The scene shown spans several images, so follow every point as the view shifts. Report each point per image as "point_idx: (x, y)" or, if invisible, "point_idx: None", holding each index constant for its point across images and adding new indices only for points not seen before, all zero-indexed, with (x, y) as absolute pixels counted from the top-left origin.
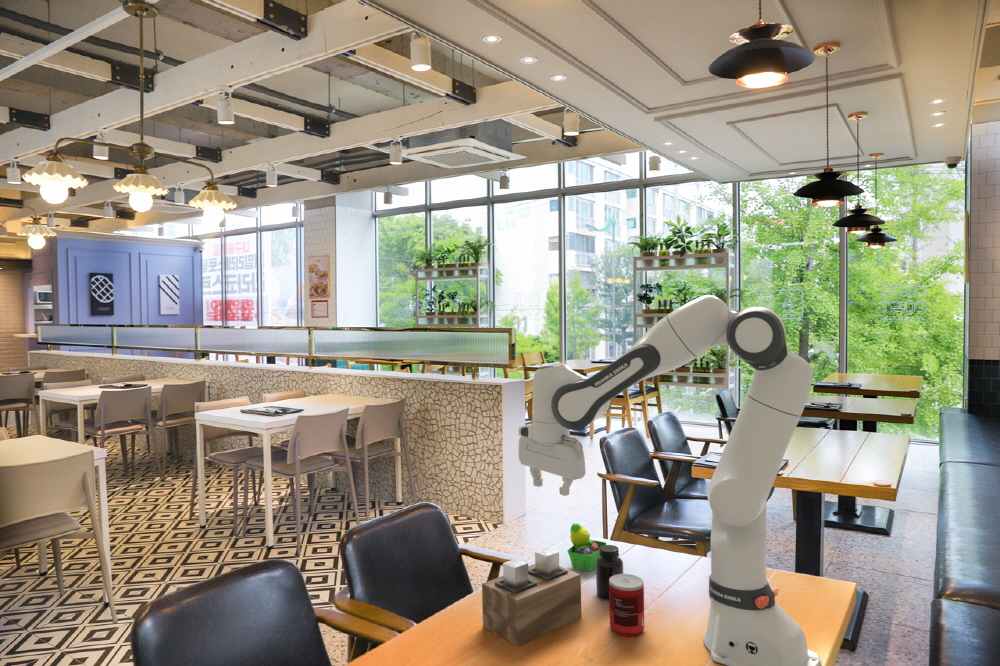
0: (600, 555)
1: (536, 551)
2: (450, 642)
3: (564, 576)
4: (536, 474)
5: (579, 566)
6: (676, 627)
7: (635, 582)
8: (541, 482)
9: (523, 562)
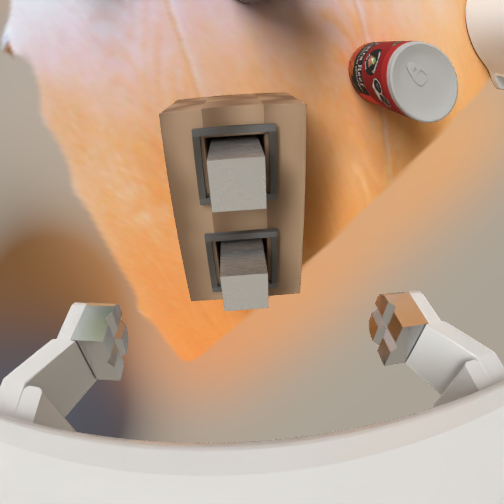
0: None
1: (212, 206)
2: (210, 303)
3: (285, 145)
4: (64, 385)
5: None
6: (426, 19)
7: (438, 70)
8: (106, 322)
9: (255, 278)
